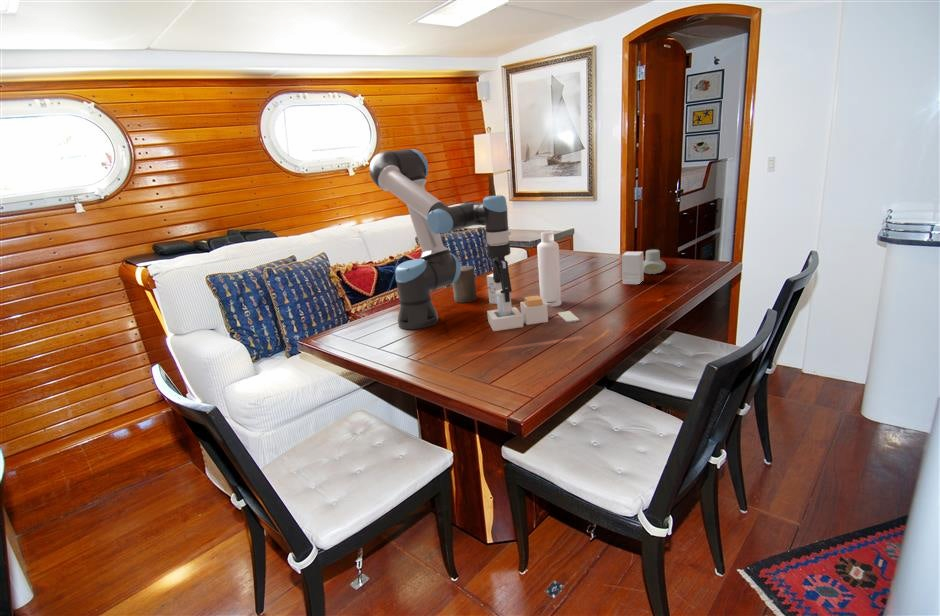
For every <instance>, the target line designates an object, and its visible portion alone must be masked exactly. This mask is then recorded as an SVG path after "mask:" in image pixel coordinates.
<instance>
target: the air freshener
mask: <svg viewBox="0 0 940 616" xmlns="http://www.w3.org/2000/svg"><path fill="white" fill-rule="evenodd" d="M643 262H644V273H645V274H648V275H651V274H653V275H657V273H658V274H660V273H662V272H664V271H665V270H666V268H667V267H666V263H665V262H664V260H662V259H661V251H660V250H659V249H647V250H646V251H645V260H644V259H643Z"/></svg>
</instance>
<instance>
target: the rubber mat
mask: <svg viewBox="0 0 940 616" xmlns="http://www.w3.org/2000/svg"><path fill="white" fill-rule="evenodd" d="M557 314H558V315H559V316H560V317H561V318H562V319H563V320H564V321H565V322H566V323H576V322H580V319H579V318H578V316H577V315H575V314H574V313H572V311H570V310H567V311H559V312H557Z"/></svg>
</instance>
